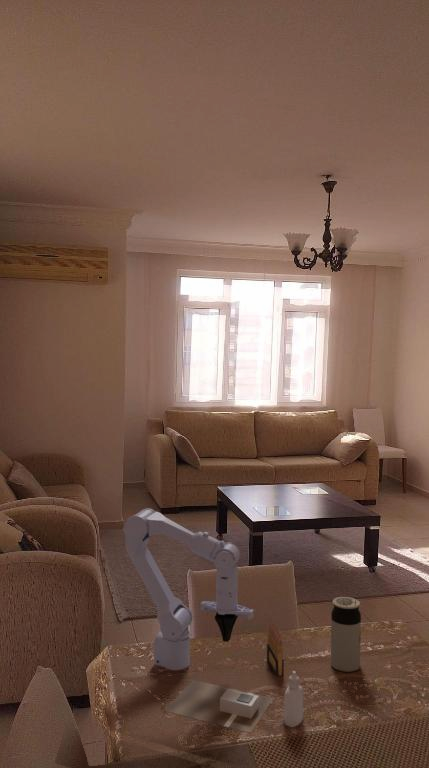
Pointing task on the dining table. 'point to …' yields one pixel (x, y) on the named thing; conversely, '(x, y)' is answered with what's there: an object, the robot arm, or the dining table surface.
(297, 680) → the eye dropper bottle
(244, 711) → the block
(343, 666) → the travel mug
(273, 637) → the ammunition clip
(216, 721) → the subfloor panel
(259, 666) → the dining table surface
